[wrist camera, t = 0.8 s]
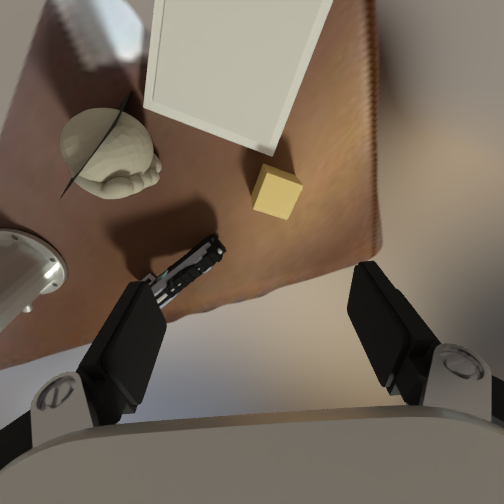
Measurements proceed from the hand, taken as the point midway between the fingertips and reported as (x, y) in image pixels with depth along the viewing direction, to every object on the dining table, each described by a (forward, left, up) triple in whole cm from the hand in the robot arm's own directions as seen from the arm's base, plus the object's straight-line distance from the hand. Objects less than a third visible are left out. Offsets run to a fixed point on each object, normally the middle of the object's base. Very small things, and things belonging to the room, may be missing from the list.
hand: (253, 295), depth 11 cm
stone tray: (+11, +5, -26) cm, 28 cm away
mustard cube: (-1, -5, -26) cm, 27 cm away
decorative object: (-2, +14, -26) cm, 30 cm away
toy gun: (-18, +5, -26) cm, 33 cm away
